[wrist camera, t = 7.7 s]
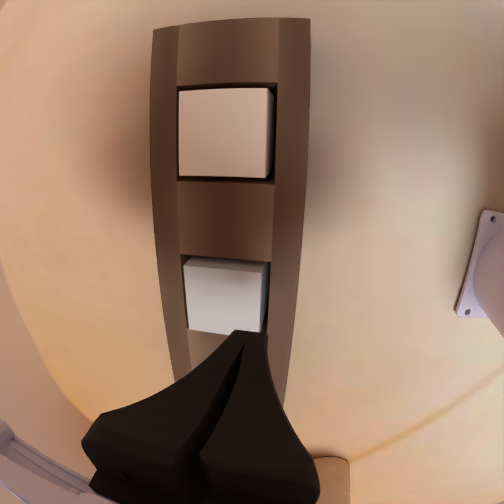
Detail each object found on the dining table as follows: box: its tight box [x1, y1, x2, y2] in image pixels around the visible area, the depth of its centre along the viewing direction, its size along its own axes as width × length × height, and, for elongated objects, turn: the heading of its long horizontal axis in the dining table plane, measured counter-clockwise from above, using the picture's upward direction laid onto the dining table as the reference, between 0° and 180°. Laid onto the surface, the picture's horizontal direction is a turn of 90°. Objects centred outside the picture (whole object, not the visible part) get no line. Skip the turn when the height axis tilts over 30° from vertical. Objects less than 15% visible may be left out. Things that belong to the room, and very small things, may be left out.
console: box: [150, 18, 310, 408], centre depth 19 cm, size 8×30×4 cm, turn 179°
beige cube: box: [179, 88, 275, 178], centre depth 15 cm, size 4×4×4 cm
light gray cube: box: [184, 255, 269, 335], centre depth 19 cm, size 4×4×4 cm
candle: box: [313, 457, 350, 504], centre depth 24 cm, size 6×6×10 cm
